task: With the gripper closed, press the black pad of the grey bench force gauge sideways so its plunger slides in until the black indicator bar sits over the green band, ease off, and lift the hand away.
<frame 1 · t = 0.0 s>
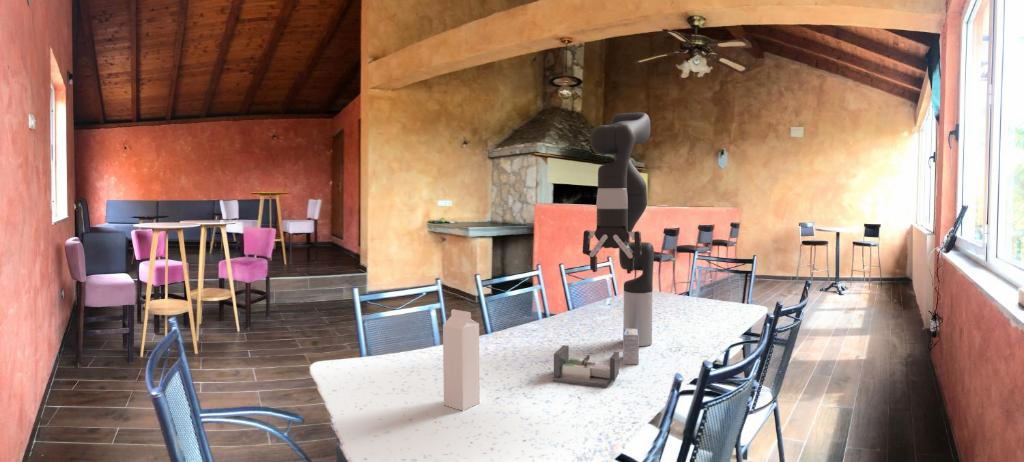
hand: (611, 272, 133), 29 cm above the table, tool pointing down, fingers open, 8 cm apart
plunger: (599, 364, 141), point 4 cm above the table, slide at 0.0 cm
medicine box: (630, 361, 158), on the table
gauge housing: (583, 377, 143), on the table
milk: (461, 405, 125), on the table
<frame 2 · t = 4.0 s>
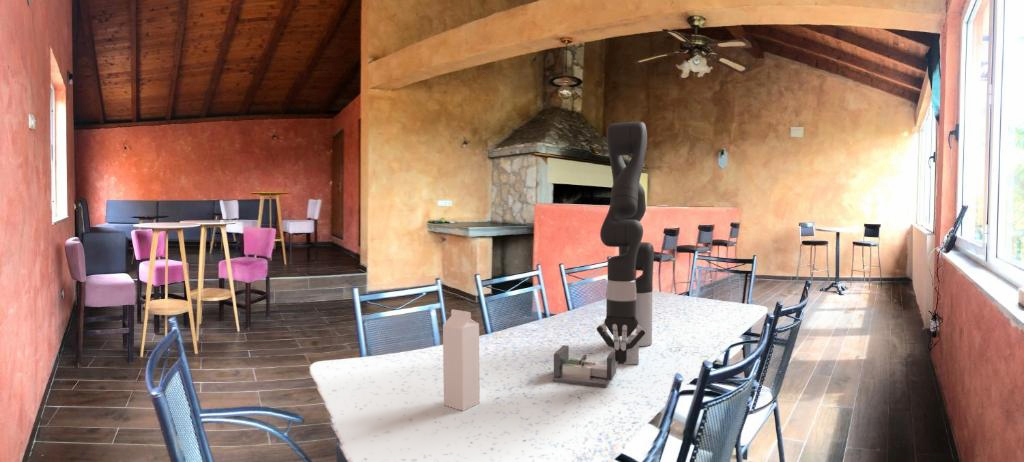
hand: (620, 363, 139), 5 cm above the table, tool pointing down, fingers closed
plunger: (596, 363, 141), point 4 cm above the table, slide at 0.8 cm, touching gripper
everything else where it was.
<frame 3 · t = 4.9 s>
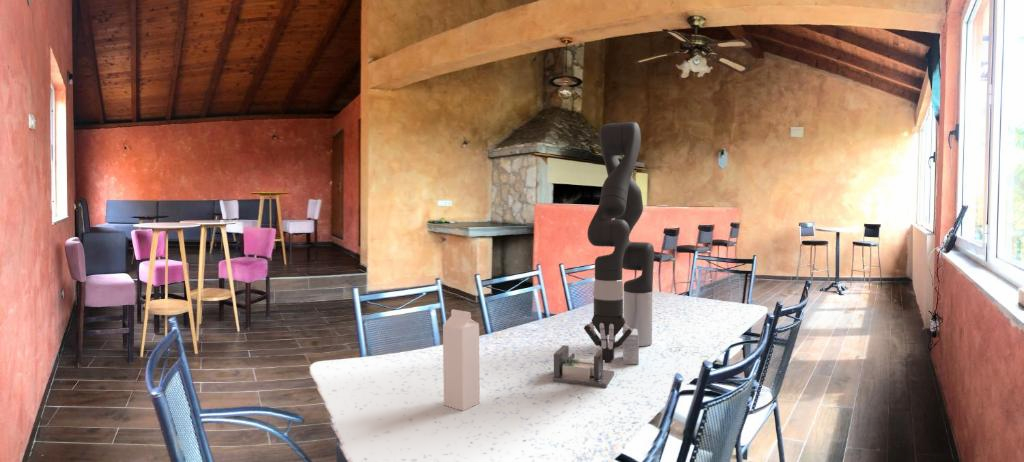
hand: (608, 362, 140), 5 cm above the table, tool pointing down, fingers closed
plunger: (583, 362, 142), point 4 cm above the table, slide at 4.2 cm, touching gripper
everything else where it was.
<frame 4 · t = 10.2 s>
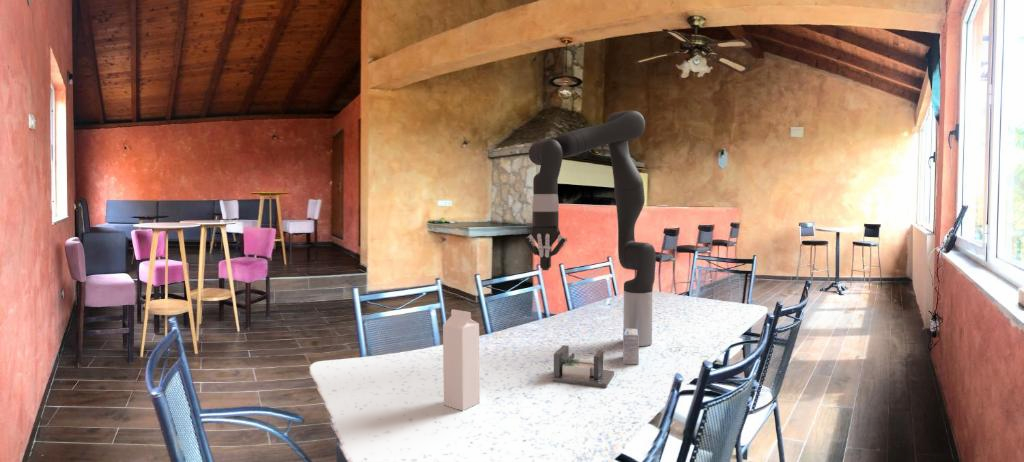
hand: (545, 269, 155), 27 cm above the table, tool pointing down, fingers closed
plunger: (583, 362, 142), point 4 cm above the table, slide at 4.2 cm
everything else where it was.
at the end: plunger slide at 4.2 cm; medicine box moved 0.3 cm from its start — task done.
